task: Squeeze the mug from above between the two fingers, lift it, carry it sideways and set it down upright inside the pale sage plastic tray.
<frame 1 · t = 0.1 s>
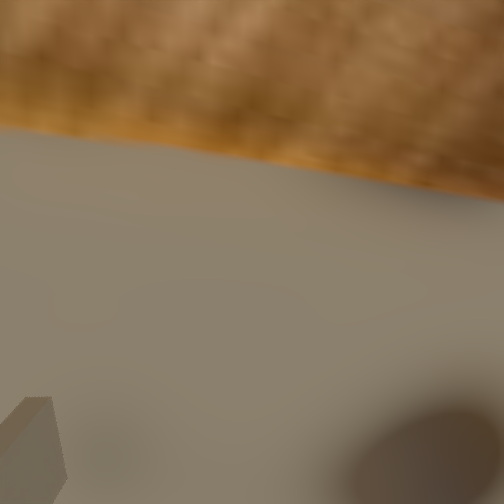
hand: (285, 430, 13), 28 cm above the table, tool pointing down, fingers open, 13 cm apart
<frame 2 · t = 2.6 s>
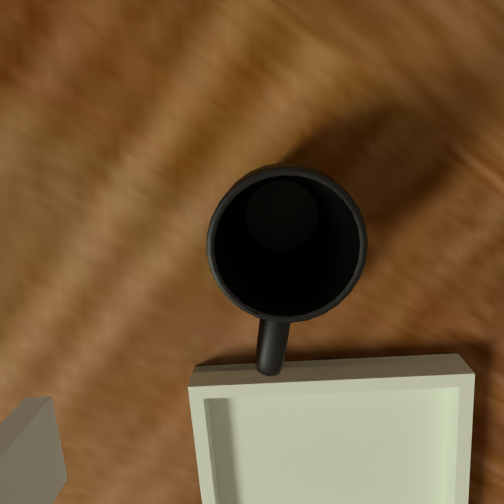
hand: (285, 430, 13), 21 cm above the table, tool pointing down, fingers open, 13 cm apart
mug: (277, 240, 33), on the table
tray: (327, 454, 37), on the table
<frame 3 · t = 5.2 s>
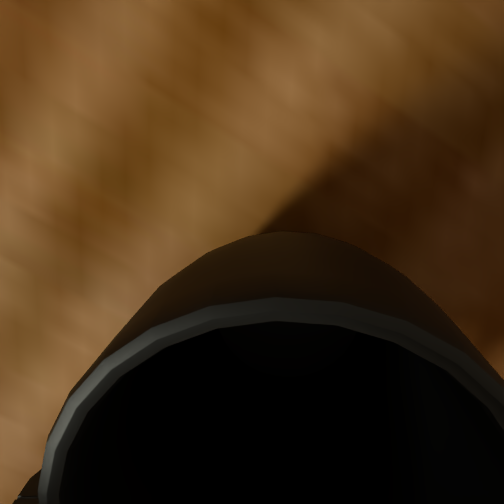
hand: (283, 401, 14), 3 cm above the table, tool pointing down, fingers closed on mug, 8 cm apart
mug: (277, 354, 17), on the table, touching gripper
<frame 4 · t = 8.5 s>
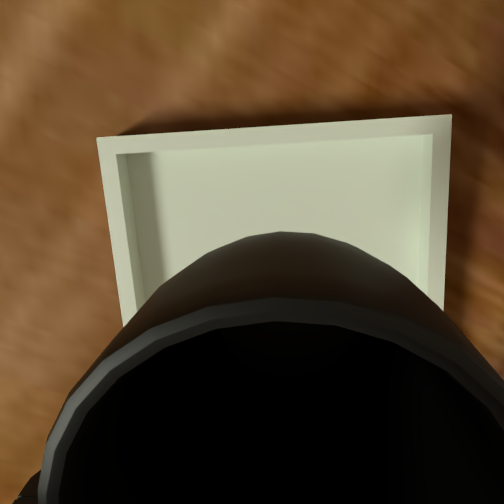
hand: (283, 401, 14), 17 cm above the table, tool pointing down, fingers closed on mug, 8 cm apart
mug: (277, 355, 17), point 14 cm above the table, touching gripper
tray: (277, 257, 31), on the table
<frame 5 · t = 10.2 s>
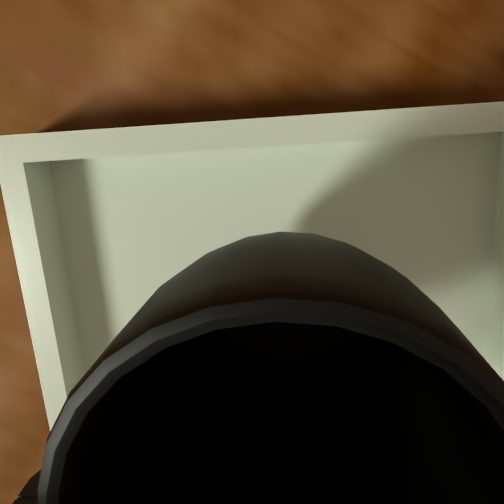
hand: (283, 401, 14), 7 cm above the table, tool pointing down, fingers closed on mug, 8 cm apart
mug: (278, 355, 17), point 4 cm above the table, touching gripper
tray: (277, 311, 21), on the table
when the fingers open (5 cm above the table, at t = 11.6 s): mug stays where it is, resting on tray.
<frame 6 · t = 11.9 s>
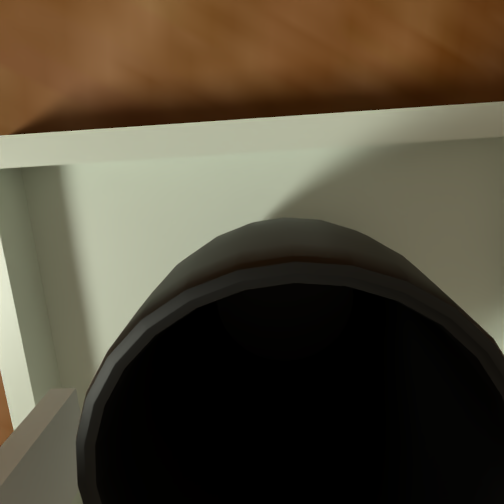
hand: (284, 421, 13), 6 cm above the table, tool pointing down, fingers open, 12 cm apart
mug: (275, 340, 18), point 1 cm above the table, touching tray
tray: (280, 335, 19), on the table
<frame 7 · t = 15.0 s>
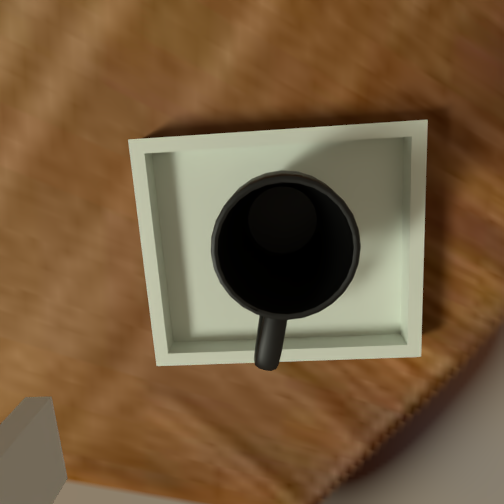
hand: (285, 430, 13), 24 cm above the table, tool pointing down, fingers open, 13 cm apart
mug: (277, 243, 35), point 1 cm above the table, touching tray
tray: (280, 243, 36), on the table
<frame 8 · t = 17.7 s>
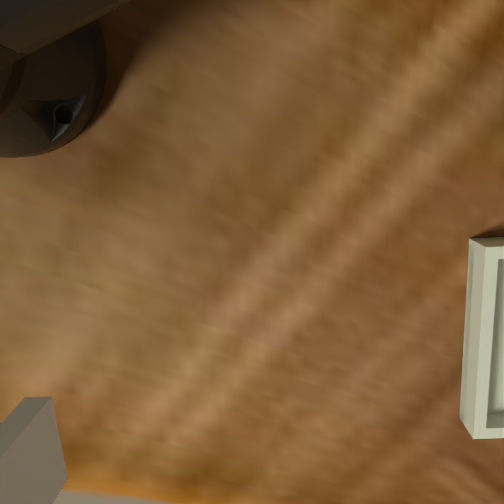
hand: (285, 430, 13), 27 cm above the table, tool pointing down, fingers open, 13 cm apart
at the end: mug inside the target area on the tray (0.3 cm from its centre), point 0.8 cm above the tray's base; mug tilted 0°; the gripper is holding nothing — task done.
